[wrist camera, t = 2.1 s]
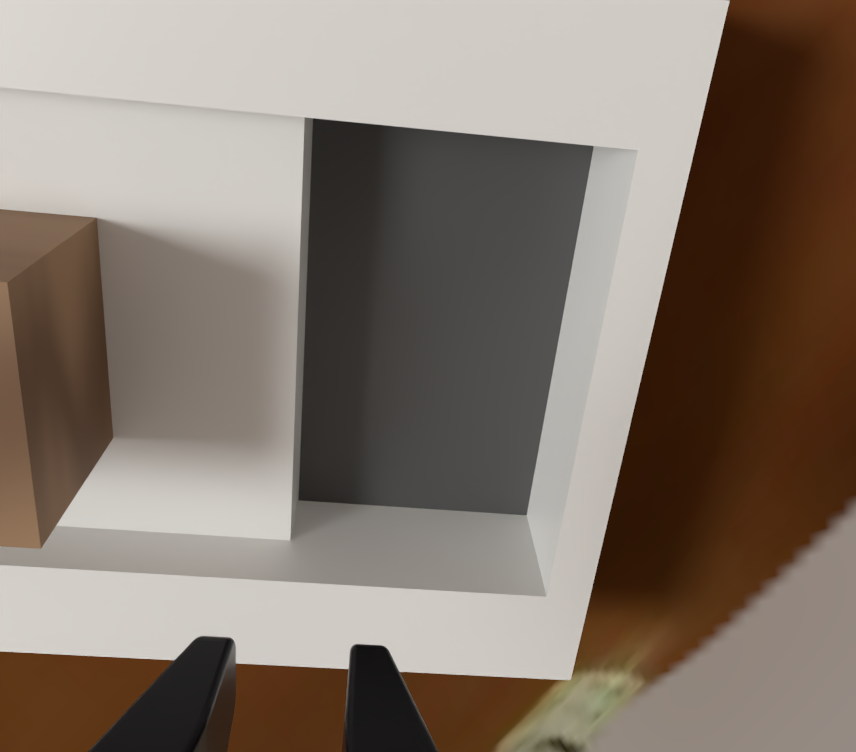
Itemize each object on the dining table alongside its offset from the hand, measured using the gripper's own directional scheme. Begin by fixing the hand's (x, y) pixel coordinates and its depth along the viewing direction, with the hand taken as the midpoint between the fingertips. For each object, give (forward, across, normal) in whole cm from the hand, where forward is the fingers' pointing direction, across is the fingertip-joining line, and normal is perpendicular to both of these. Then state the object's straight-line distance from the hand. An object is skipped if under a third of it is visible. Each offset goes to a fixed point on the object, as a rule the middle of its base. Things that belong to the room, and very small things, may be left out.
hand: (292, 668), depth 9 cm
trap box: (+11, +10, 0) cm, 15 cm away
